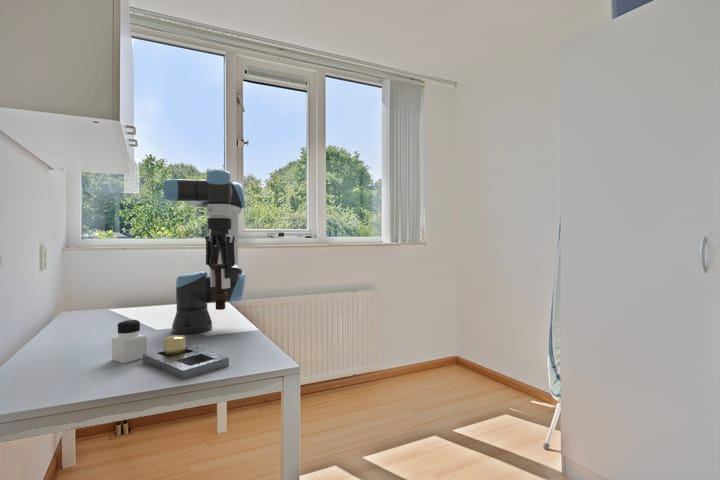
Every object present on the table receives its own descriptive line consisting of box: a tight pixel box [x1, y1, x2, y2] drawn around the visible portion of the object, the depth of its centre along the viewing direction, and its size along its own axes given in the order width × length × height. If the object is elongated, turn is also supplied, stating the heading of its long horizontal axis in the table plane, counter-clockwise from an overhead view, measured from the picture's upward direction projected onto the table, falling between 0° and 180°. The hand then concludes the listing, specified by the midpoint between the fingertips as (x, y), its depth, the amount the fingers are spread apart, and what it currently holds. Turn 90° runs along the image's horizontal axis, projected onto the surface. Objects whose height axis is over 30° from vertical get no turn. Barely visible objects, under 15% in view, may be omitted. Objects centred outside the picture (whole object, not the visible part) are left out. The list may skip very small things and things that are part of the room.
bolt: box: [211, 264, 228, 311], centre depth 132 cm, size 6×5×15 cm
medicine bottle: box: [111, 319, 147, 364], centre depth 125 cm, size 7×7×12 cm
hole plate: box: [142, 334, 230, 381], centre depth 119 cm, size 24×14×7 cm, turn 52°
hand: (220, 287), depth 132 cm, fingers closed on bolt, 6 cm apart
